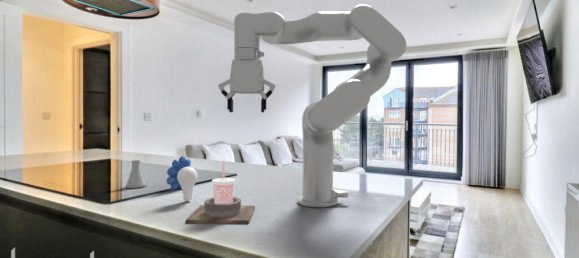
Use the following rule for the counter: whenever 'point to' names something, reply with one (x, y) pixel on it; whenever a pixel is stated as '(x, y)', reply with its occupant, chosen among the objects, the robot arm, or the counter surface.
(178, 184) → the grapes
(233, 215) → the coaster board
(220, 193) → the beverage cup
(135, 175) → the flask
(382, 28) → the robot arm
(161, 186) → the counter surface
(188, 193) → the lightbulb
